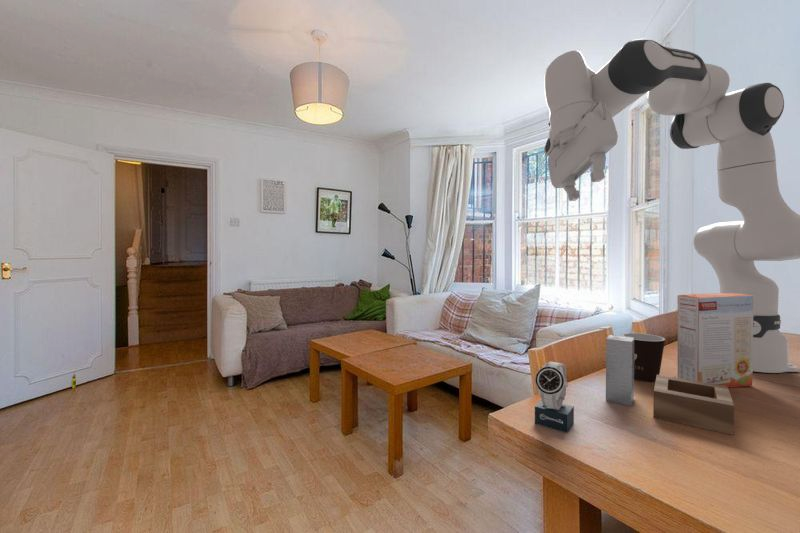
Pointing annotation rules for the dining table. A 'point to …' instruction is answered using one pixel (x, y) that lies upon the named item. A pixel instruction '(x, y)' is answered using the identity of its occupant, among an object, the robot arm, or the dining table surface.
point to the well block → (694, 403)
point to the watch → (553, 398)
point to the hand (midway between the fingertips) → (585, 190)
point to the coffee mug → (647, 356)
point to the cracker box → (716, 338)
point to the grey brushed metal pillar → (620, 369)
